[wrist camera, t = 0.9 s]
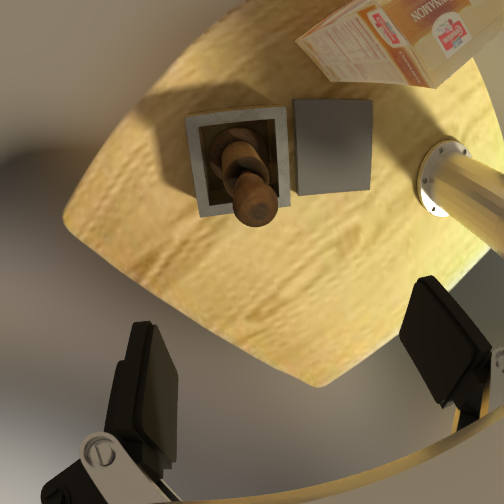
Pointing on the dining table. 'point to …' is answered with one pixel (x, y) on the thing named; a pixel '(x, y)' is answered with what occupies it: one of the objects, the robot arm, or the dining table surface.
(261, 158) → the wooden pepper mill
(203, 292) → the dining table surface
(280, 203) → the open square box
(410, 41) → the coffeecake box
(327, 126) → the coaster
